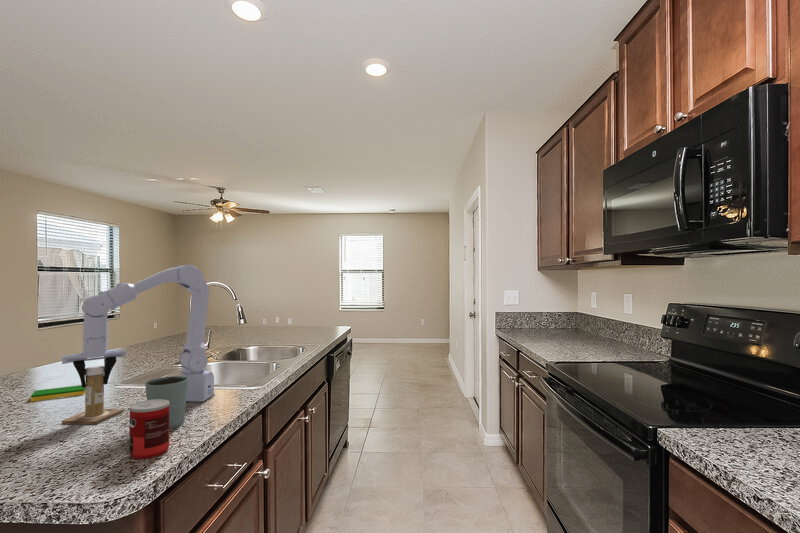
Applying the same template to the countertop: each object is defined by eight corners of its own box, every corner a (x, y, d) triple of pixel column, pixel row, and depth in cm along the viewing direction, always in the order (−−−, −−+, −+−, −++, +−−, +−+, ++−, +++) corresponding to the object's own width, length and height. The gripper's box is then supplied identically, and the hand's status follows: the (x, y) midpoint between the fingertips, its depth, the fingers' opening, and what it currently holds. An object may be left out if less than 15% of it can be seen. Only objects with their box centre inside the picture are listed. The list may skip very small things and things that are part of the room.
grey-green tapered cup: (142, 434, 103) (143, 387, 103) (146, 421, 112) (147, 378, 112) (187, 427, 107) (188, 382, 108) (187, 415, 116) (188, 374, 117)
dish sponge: (35, 397, 136) (35, 390, 136) (86, 391, 143) (87, 384, 143) (30, 403, 130) (30, 395, 130) (84, 396, 137) (84, 388, 137)
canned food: (140, 445, 96) (141, 399, 96) (175, 444, 96) (176, 398, 97) (121, 460, 88) (121, 409, 88) (159, 459, 89) (159, 408, 89)
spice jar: (104, 414, 114) (105, 367, 115) (84, 418, 112) (84, 369, 112) (104, 410, 118) (104, 364, 118) (84, 414, 115) (85, 366, 116)
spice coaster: (124, 411, 120) (124, 408, 120) (97, 424, 110) (97, 421, 110) (91, 411, 120) (91, 408, 120) (61, 423, 110) (62, 420, 110)
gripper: (123, 333, 123) (122, 378, 123) (61, 338, 114) (60, 387, 113) (127, 336, 118) (126, 382, 118) (63, 341, 108) (62, 392, 108)
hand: (94, 385), depth 115 cm, fingers closed on spice jar, 4 cm apart
